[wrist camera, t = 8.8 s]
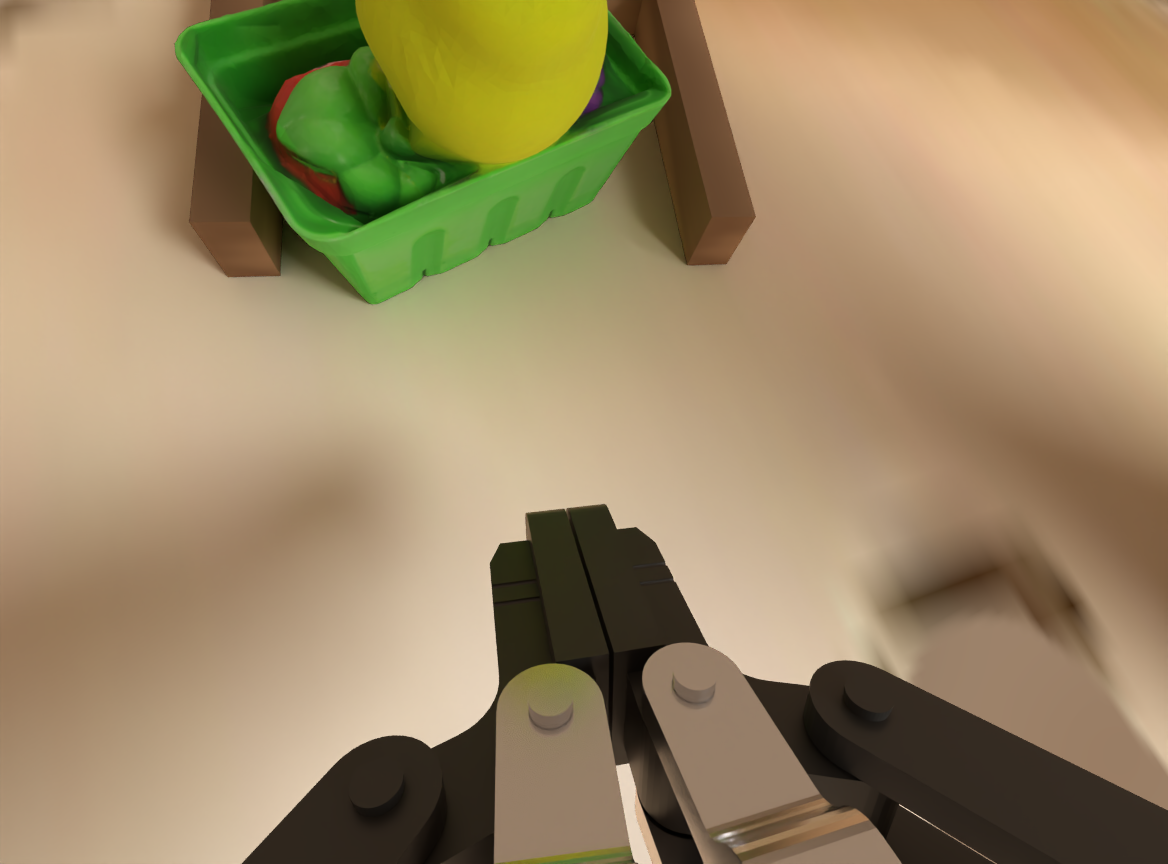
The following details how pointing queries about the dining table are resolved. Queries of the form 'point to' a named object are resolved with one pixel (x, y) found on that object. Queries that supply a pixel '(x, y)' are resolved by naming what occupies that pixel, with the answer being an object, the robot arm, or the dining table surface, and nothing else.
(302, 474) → the dining table surface
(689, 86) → the frame
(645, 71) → the fruit basket
